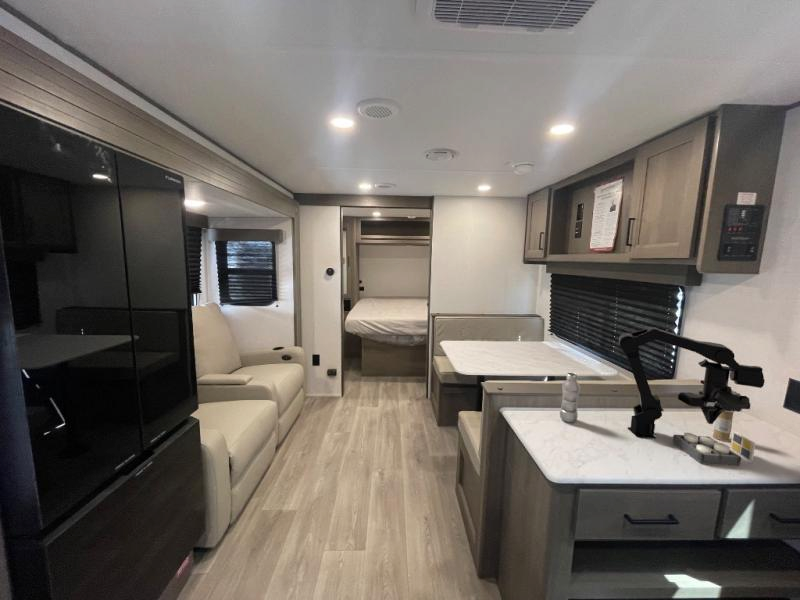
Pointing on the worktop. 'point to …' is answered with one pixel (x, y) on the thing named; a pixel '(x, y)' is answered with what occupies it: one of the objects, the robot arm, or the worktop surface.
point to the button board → (706, 457)
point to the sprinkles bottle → (723, 426)
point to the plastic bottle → (570, 398)
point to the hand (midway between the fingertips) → (709, 423)
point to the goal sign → (742, 446)
